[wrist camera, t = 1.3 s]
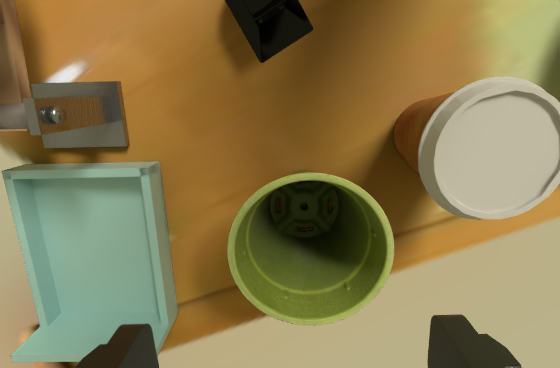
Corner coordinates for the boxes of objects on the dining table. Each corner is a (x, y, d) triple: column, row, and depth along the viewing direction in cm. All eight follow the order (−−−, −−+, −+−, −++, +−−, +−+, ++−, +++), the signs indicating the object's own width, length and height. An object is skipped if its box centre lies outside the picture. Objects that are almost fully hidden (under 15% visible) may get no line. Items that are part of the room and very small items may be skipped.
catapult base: (129, 145, 33) (60, 168, 23) (49, 146, 34) (-54, 171, 23) (120, 81, 32) (42, 76, 22) (36, 83, 32) (-80, 80, 22)
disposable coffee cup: (406, 198, 34) (468, 252, 23) (358, 119, 32) (398, 135, 21) (493, 145, 33) (605, 174, 21) (447, 60, 31) (545, 41, 19)
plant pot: (327, 124, 33) (347, 141, 22) (379, 225, 35) (421, 284, 24) (223, 182, 34) (194, 224, 23) (280, 273, 37) (278, 349, 26)
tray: (25, 164, 34) (-39, 182, 27) (159, 161, 34) (128, 178, 27) (60, 315, 39) (12, 362, 32) (178, 313, 38) (155, 360, 32)
